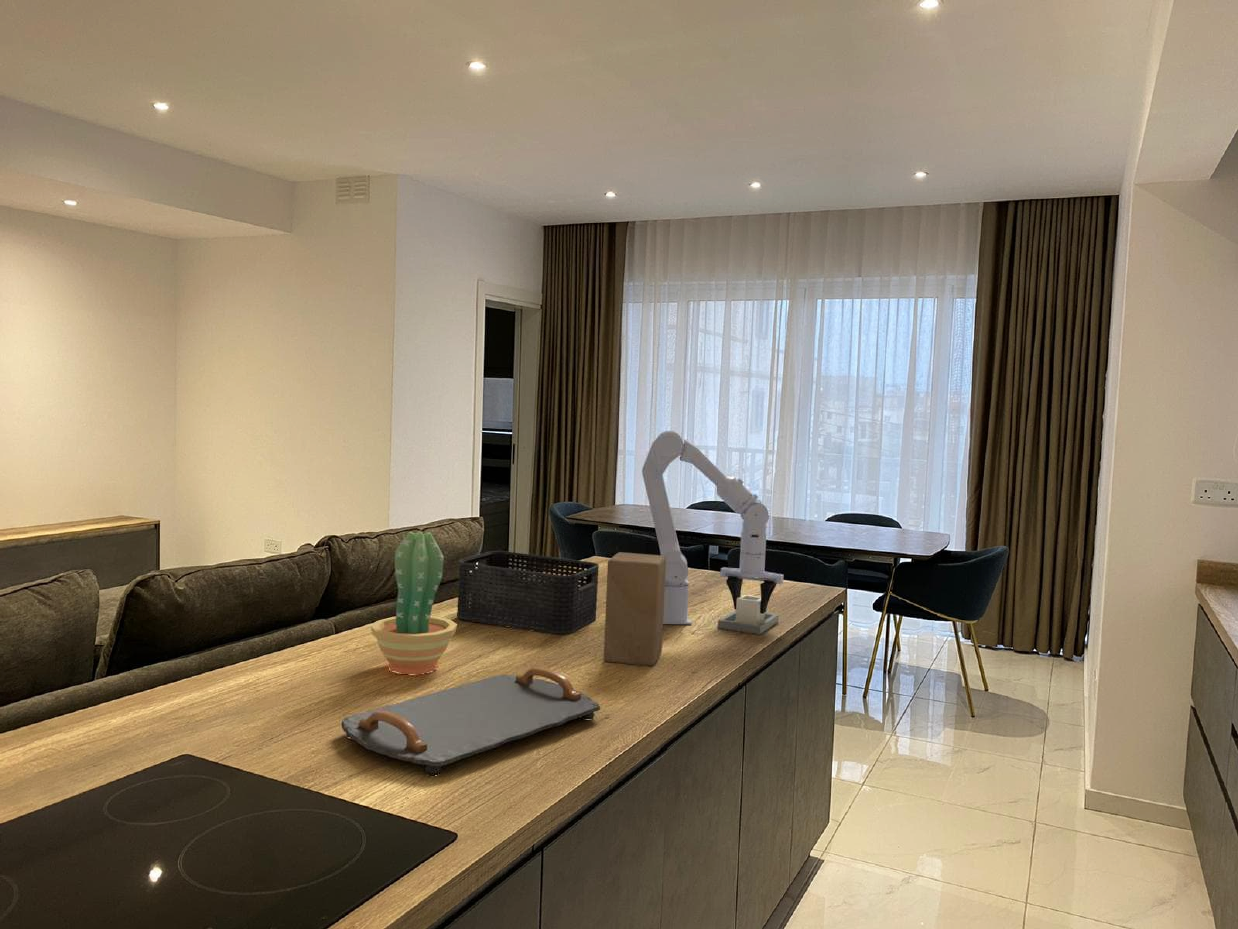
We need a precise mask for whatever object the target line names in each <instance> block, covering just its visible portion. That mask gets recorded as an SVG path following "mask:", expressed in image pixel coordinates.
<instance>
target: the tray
mask: <svg viewBox="0 0 1238 929" xmlns="http://www.w3.org/2000/svg"><path fill="white" fill-rule="evenodd" d="M735 621H736V610H734V611H732V612H730V613H728V614H727V615H726V614H725V616H723V617H721V618H720V619H718V620H717V629H721V628H722V630H727V629H728V630H727V631H733V630H739V631H738V632H740V631H743V632H742V633H745V634H752V633H756V634H755V635H759V634H760V635H762V634H763V633H765V632H766V631H768V630H769V629H771V628H770V626H772V627H774V626H775V625H776V624H778V623H779V614H777V613H768V612H765V617H764V621H763V622H762V623H760V624H759V625H753V624H747V623H740V622H735ZM777 622H778V623H777ZM775 623H776V624H775ZM774 624H775V625H774ZM773 625H774V626H773ZM768 628H769V629H768ZM764 631H765V632H764ZM761 633H762V634H761Z"/></svg>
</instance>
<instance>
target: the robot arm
mask: <svg viewBox="0 0 1238 929" xmlns="http://www.w3.org/2000/svg"><path fill="white" fill-rule="evenodd" d="M677 458H679V461H680V462H685V463H688V464H692V466H694V467H695V468H696V469H698V471H700V473H702V474H703V475H704V476H705V477H706V478H707V479H708V480H709V481H710V482H712V484H714V485H715V487H716V495H717V496H718V497H719V498H720V499H721V500H722V501H723V502H724V503H725V504H726V505H727V506H729V507H730V508H731V509H732V510H733V512H734V513H735V514H740V517H741V519H742V520H743V521H742V530H741V532H740V535H741V536H740V553H739V568H736V567H735V568H734V567H724V566H723V567H721V568H720V577H721V578H722V577H723V578H725V577H726V578H727V579H726V580H725V582H726V583H725V584H726V585H727V587H728V589H729V592H730V595H731V598H732V602H733V609H734V611H735V610H736V602H737V598H739V597H741V596H742V595H741V594H742V585H743V581H744V580H749V581H759V582H762V583H760V585H759V587H760V597H761V606H760V613H762V614H764V613H767V608H768V606H769V605H768V604H769V601H770V599H771V596H772V594H773V592H774V591H775V588H776V586H777V585H782V584H783V583H784V577H785V576H784V574H781V573H776V572H769V571H765V567H766V566H765V565H766V548H767V533H766V532H767V523H768V521H769V519H770V515H769V511H768V508H767V506H765V504H764V503H762V501H761V500H759V499H758V498H759V497H758V495H757V494H756V493H754V494H753V493H752V492H751V491H750V490H749V489H748V488H747V487H746V486H744V485H743V483H744V481H743V480H742V479H741V478H736V477H735V476H733V475H731V476H726V475H725V474H724V473H723V472H722V471H721V470H720V469H719V468H718V467H717V466H716V465H715V464H714V463H713V462H712V461H711V460H710V459H709V458H708V457H707V456H706V454H704V453H703V452H702V451H701V450H700V449H699V448H698V447H697V446H696V445H694V444H692V443H691V442H690V441H688V439H685V438H682V437H681V435H680V434H679V433H678V432H676V431H674V430H666V431H663V432H661V433H660V434H659V435H658V436H657V437H656V438H655V440H654V441H653V442H652V443H651V446H650V448H649V451H648V453H647V455H646V459H645V460H644V463H643V465H642V468H641V474H642V479H643V482H644V487H645V492H646V495H647V500H648V504H649V508H650V513H651V517H652V521H653V526H654V529H655V533H656V538H657V542H658V547H659V552H660V553H659V554H660V555H662V556H665V557H666V573H665V594H664V614H663V625H692V624H693V622H692V621H691V620H690V619H689V617H688V612H689V610H688V609H689V608H688V606H689V592H690V589H689V588H690V581H689V580H688V579H687V577H688V575H689V568H688V561H687V558H686V557H685V555H684V554H683V553H682V551H681V548H680V545H679V540H678V536H677V532H676V527H675V524H674V519H673V514H672V510H671V506H670V502H669V496H668V493H667V489H666V485H665V480H664V476H663V474H664V473H665V471H667V468H668V467H669V466H670V464H671V463H672V462H674V461H675V460H676V459H677Z"/></svg>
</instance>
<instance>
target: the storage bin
mask: <svg viewBox="0 0 1238 929" xmlns="http://www.w3.org/2000/svg"><path fill="white" fill-rule="evenodd" d="M480 562H484V565H483V564H478V563H480ZM458 564H459V569H458V574H459V575H458V587H457V590H458V592H457V606H456V607H457V612H456V617H457V618H458V619H460V620H464V621H467V620H468V621H467V622H473V621H474V623H479V622H480V623H479V624H486V623H489V624H488V625H492V624H493V625H494V626H498V625H499V626H500V627H504V626H509V627H508V628H510V627H514V628H513V629H517V628H519V630H524V631H529V630H533V631H532V632H536V631H537V633H543V634H548V633H551V634H553V635H554V634H555V635H568V634H573V633H574V632H576V631H578V630H580V629H582V628H583V627H585V626H587V625H589V624H591V623H593V622H595V621H596V620H597V605H598V604H597V603H598V585H599V581H598V580H599V568H600V565H599V563H596V562H592V561H584V560H577V559H576V560H575V559H569V558H563V557H562V558H561V557H552V556H547V555H546V556H544V555H539V554H538V555H536V554H529V553H523V552H521V553H520V552H513V551H507V550H494V551H493V550H492V551H487V552H484V553H480V554H476V555H473V556H469V557H465V558H461V559H460V560H459V563H458ZM493 625H492V626H493ZM499 626H498V627H499Z"/></svg>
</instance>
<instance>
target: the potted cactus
mask: <svg viewBox="0 0 1238 929" xmlns="http://www.w3.org/2000/svg"><path fill="white" fill-rule="evenodd" d="M440 548H441V547H439V545H438V543H437V541H436V539H435V538H434V536H433V534H432V533H431V532H430V531H428V532H425V533H423V532H422V531H419V530H418V531H417V532H413V531H409V532H408V533H407V534H406V536H405V537H404V538H403V539H402V541H401V542H400V544H399V545H398V546H397V549H396V551H395V553H394V571H395V573H394V575H395V579H396V585H397V590H398V591H397V592H398V593H397V602H396V613H395V616H391V617H388V618H383V619H379V620H376V621H375V622H373V623H372V625H370V628H371V634H372V636H374V637H375V638H376V640H377V643H378V646H379V650H380V652H381V653H382V655H383V656H384V657H385V659H386V660H387V662H388V667H389V668H390V670H391V671H396V672H399V673H401V674H422V673H427V672H430V671H434V670H436V668H437V667H438V668H439V664H438V661H439V660H440V659H441V657H442V656H443V655H444V653H445V652H446V651H447V648H448V645H449V644H450V640H451V639H452V637H453V636H454V635H455V633H456V631H457V626H458V624H457V623H456V622H454V621H453V620H452V619H448V618H445V617H439V616H434V615H433V616H432V615H431V614H432V609H433V604H434V602H435V595H436V593H437V590H438V588H439V586H440V584H441V582H442V579H443V572H444V571H443V570H444V569H443V568H444V559H445V557H444V555H443V553H442V551H441V549H440ZM388 667H387V668H388ZM436 671H437V670H436ZM434 672H435V671H434Z"/></svg>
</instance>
